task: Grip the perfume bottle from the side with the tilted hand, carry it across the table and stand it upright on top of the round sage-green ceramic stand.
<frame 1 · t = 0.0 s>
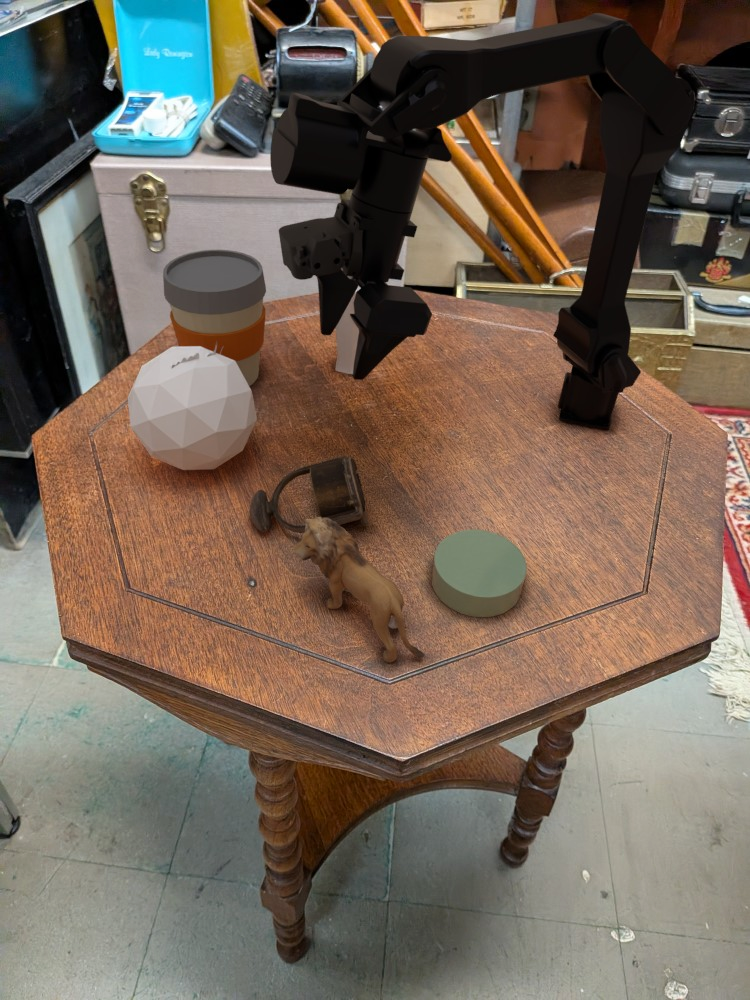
hand: (341, 355, 74), 15 cm above the table, tool pointing down, fingers open, 9 cm apart
ceramic stand: (476, 582, 72), on the table
lion figurine: (356, 617, 69), on the table
reusable coffee cup: (225, 375, 99), on the table
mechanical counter: (312, 514, 79), on the table
perfume bottle: (348, 367, 102), on the table
geodesic sphere: (200, 456, 86), on the table
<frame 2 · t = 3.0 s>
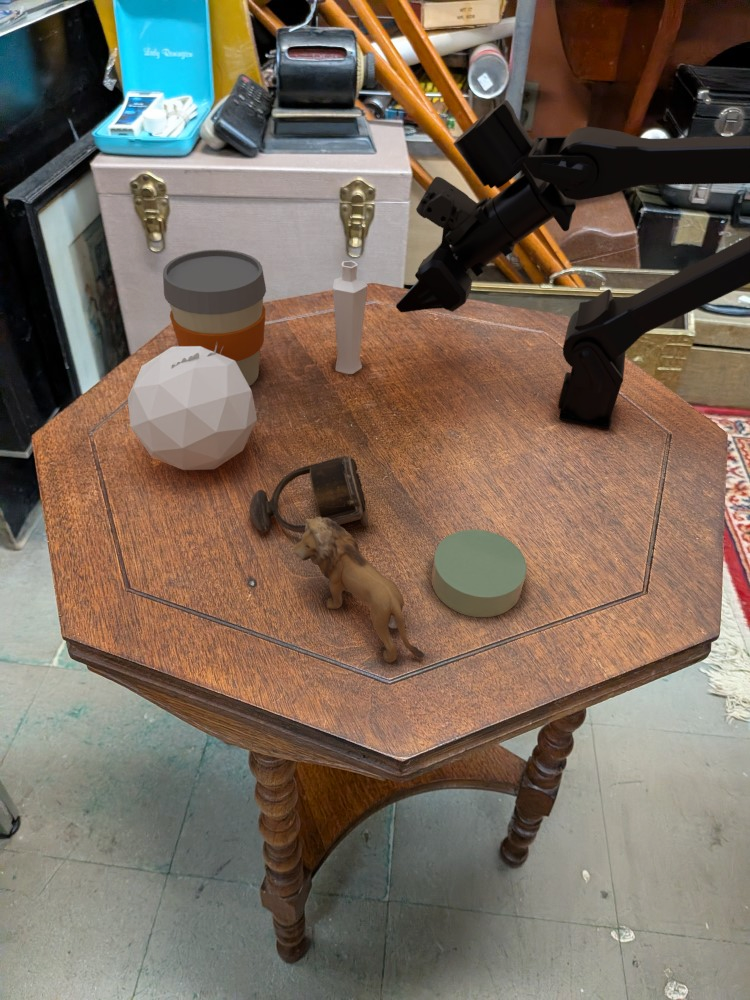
hand: (408, 292, 92), 12 cm above the table, tool tilted 45°, fingers open, 9 cm apart
nothing on the table moved.
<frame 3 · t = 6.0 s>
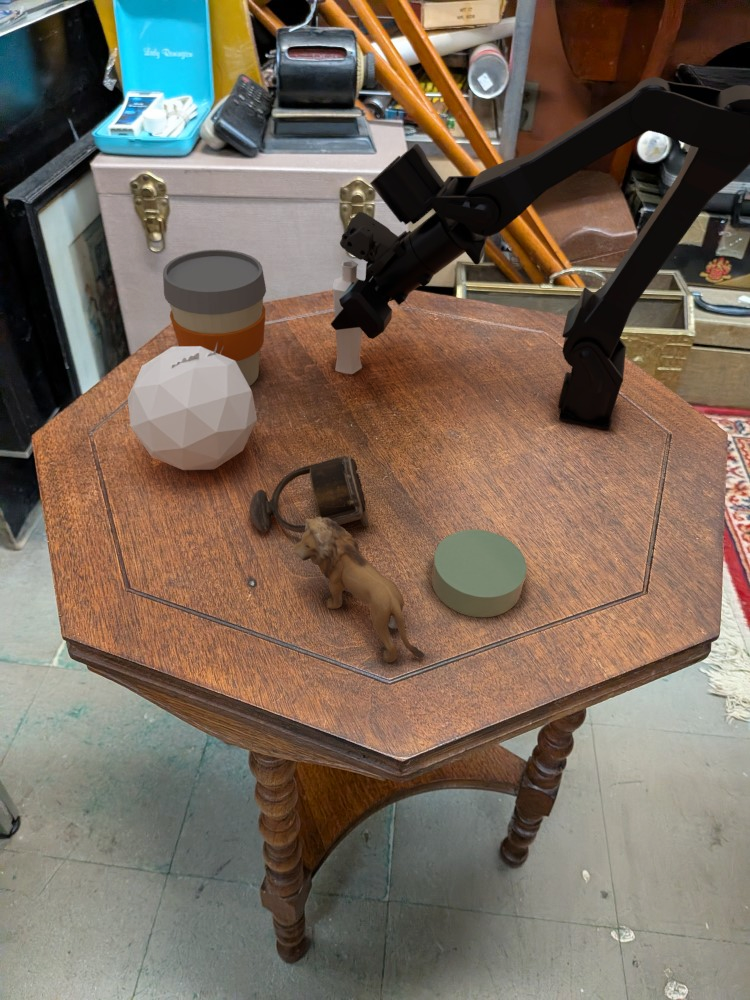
hand: (339, 318, 97), 7 cm above the table, tool tilted 45°, fingers closed on perfume bottle, 4 cm apart
perfume bottle: (348, 367, 102), on the table, touching gripper
everything else where it was.
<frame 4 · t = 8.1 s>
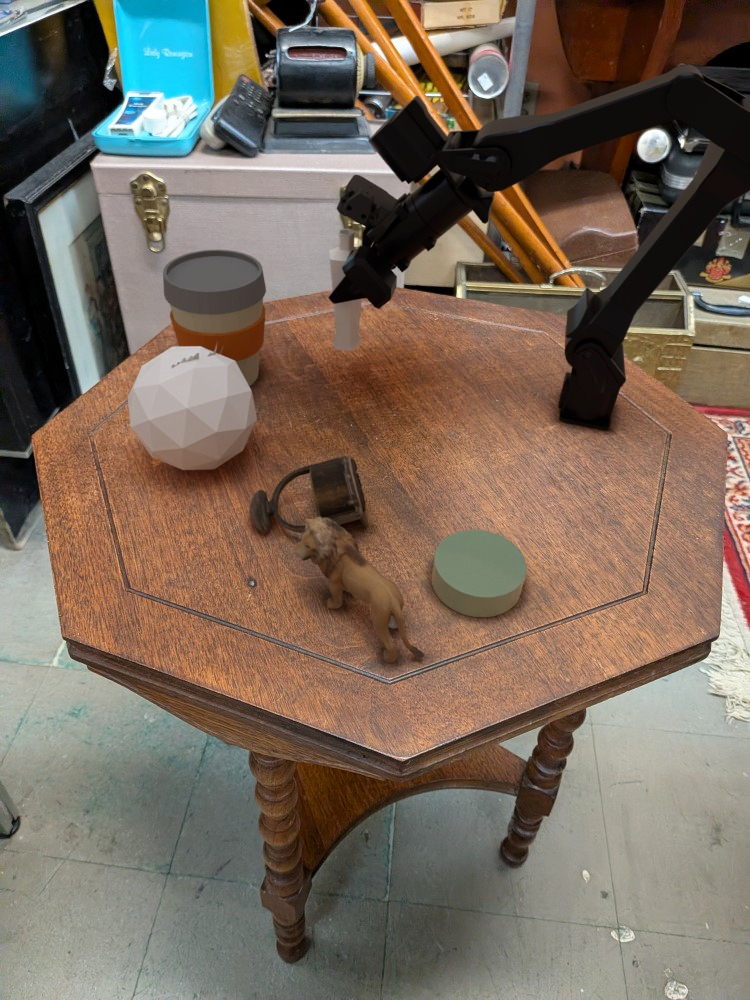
hand: (336, 292, 92), 12 cm above the table, tool tilted 45°, fingers closed on perfume bottle, 4 cm apart
perfume bottle: (346, 344, 96), point 5 cm above the table, touching gripper
everything else where it was.
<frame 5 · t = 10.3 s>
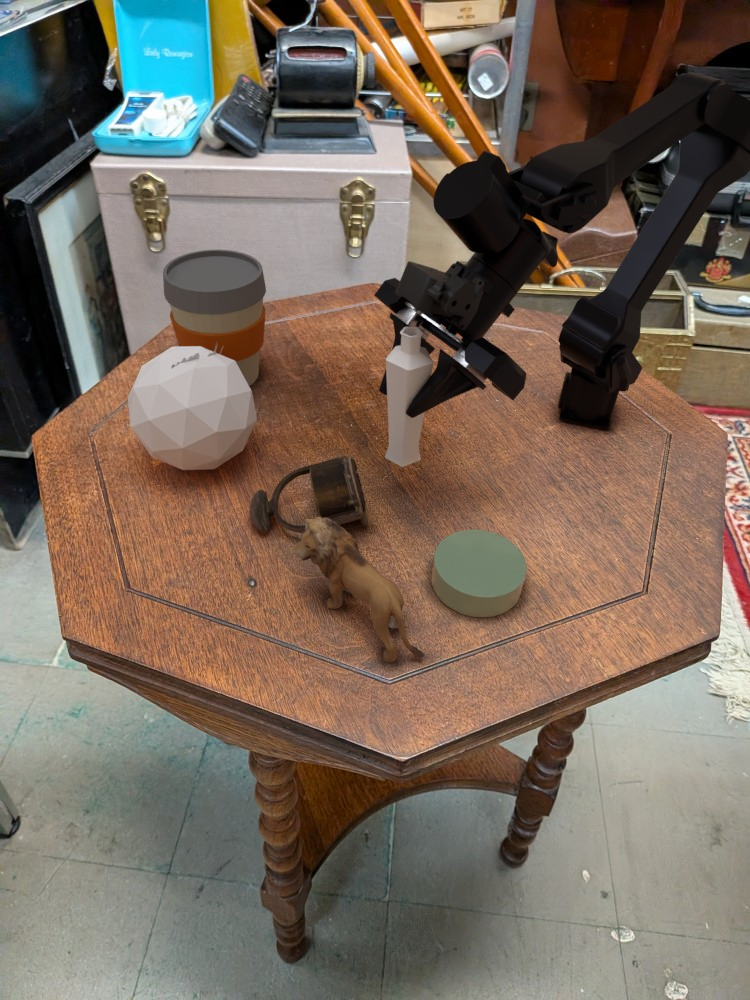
hand: (395, 404, 73), 12 cm above the table, tool tilted 45°, fingers closed on perfume bottle, 4 cm apart
perfume bottle: (402, 455, 79), point 5 cm above the table, touching gripper
everything else where it was.
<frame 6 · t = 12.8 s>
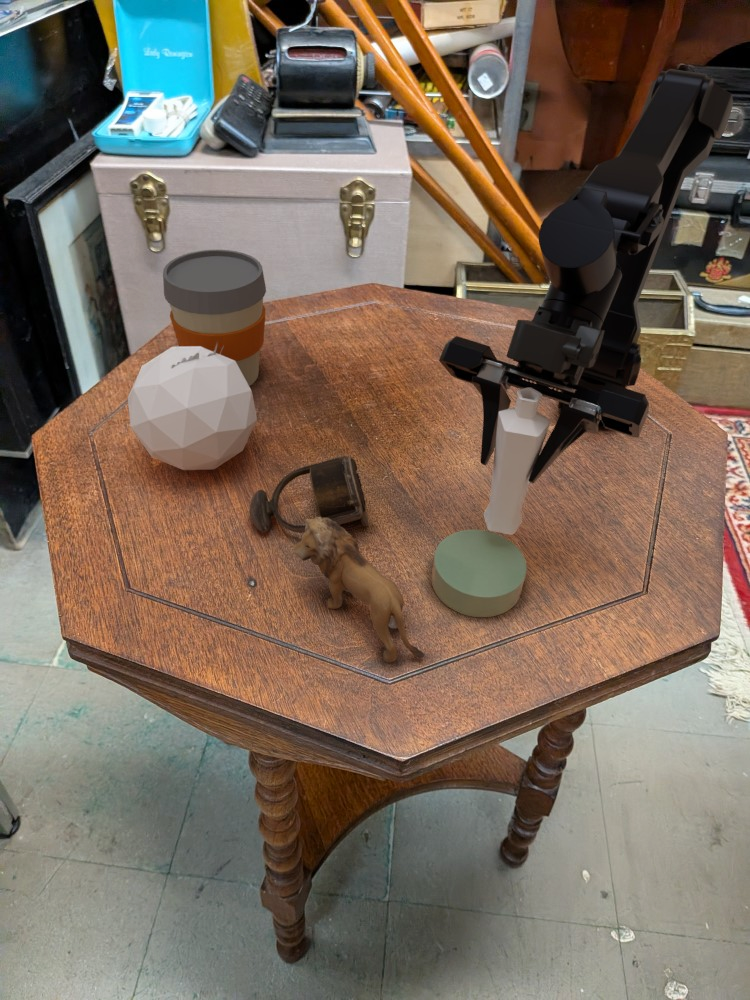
hand: (506, 473, 66), 12 cm above the table, tool tilted 45°, fingers closed on perfume bottle, 4 cm apart
perfume bottle: (500, 521, 72), point 5 cm above the table, touching gripper
everything else where it was.
when the fingers open (10 cm above the table, at t = 14.8 s): perfume bottle stays where it is, resting on ceramic stand.
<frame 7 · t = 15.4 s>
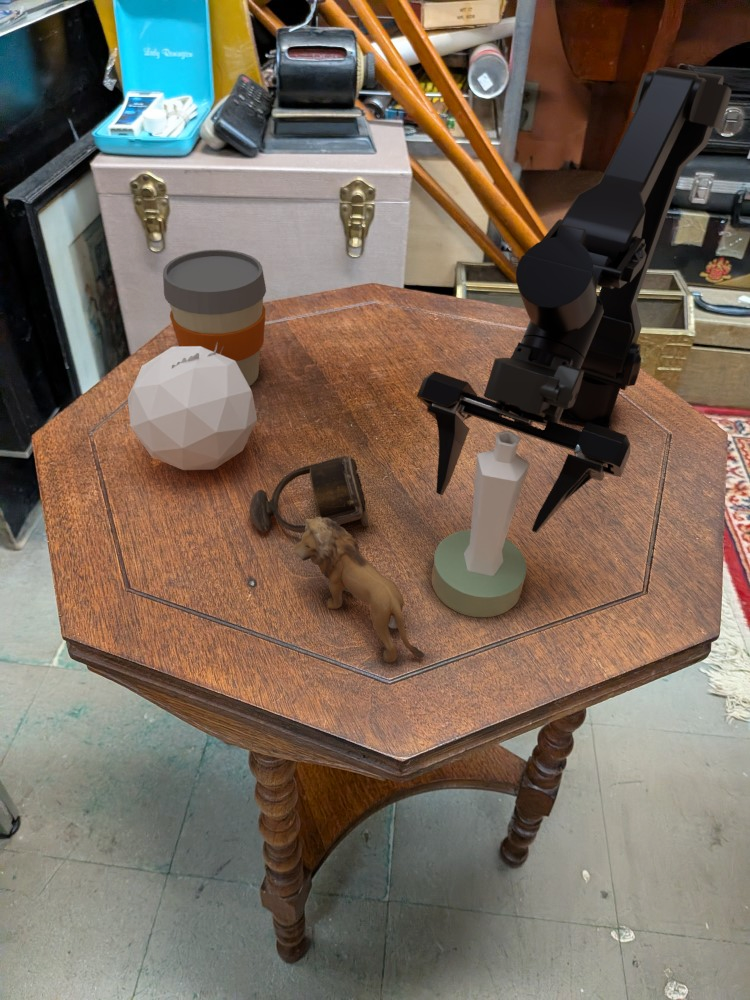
hand: (485, 512, 64), 11 cm above the table, tool tilted 45°, fingers open, 9 cm apart
ceramic stand: (476, 582, 72), on the table, touching perfume bottle
perfume bottle: (480, 561, 71), point 3 cm above the table, touching ceramic stand
everything else where it was.
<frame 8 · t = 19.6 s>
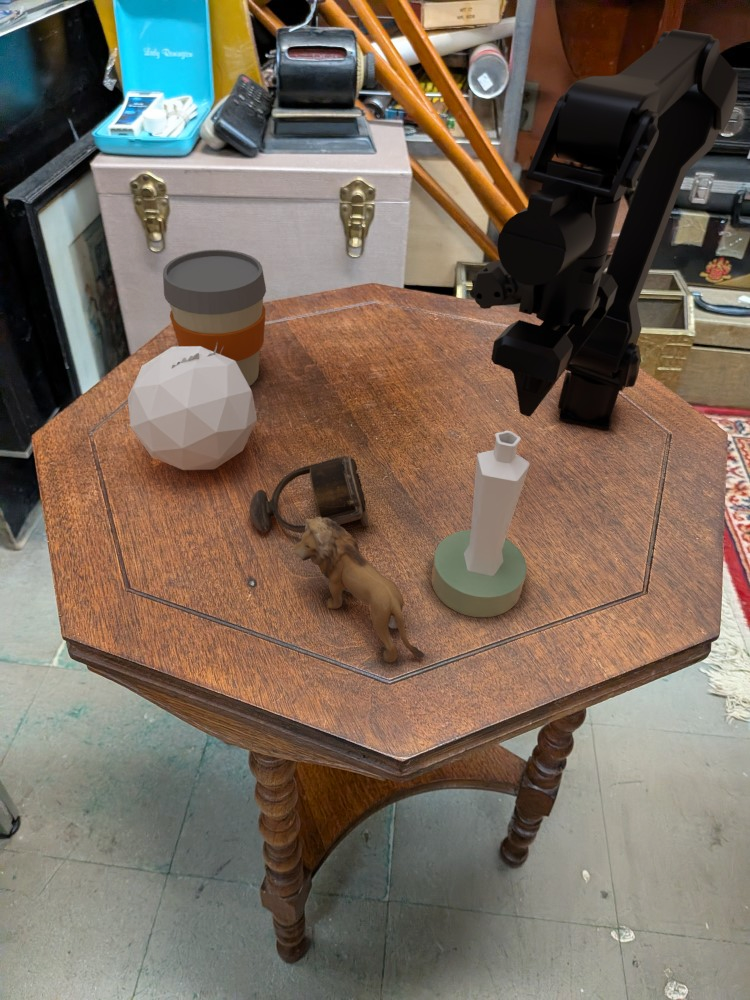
hand: (541, 393, 75), 13 cm above the table, tool pointing down, fingers open, 9 cm apart
nothing on the table moved.
at the end: perfume bottle 0.2 cm off-centre on the ceramic stand, point 2.8 cm above the ceramic stand's base; perfume bottle tilted 0°; the gripper is holding nothing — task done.
